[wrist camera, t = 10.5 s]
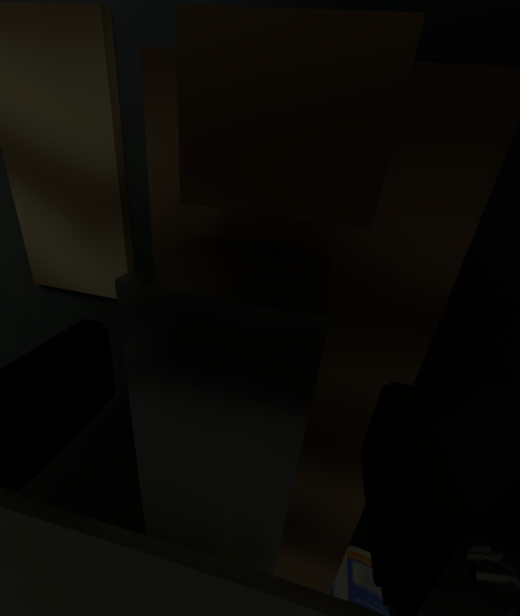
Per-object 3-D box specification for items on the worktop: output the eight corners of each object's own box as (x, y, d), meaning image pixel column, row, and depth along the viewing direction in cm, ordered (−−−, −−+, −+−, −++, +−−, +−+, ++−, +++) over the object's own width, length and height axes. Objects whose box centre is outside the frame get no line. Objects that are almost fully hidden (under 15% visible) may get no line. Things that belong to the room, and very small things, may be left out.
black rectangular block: (198, 235, 10) (114, 279, 6) (331, 255, 10) (330, 318, 6) (197, 441, 15) (146, 543, 11) (288, 465, 14) (271, 583, 10)
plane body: (197, 81, 12) (-72, -82, 4) (471, 100, 10) (903, -102, 3) (195, 494, 23) (124, 664, 15) (326, 532, 22) (322, 741, 14)
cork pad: (-20, 7, 13) (-36, 0, 12) (111, 11, 12) (100, 4, 11) (43, 279, 18) (34, 283, 17) (136, 297, 17) (130, 301, 16)
